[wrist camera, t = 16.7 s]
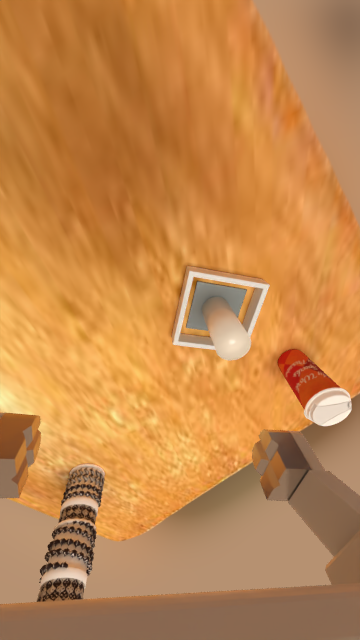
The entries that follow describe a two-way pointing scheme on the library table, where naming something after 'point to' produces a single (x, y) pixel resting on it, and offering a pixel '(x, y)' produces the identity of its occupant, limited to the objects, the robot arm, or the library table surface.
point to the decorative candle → (73, 537)
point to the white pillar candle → (225, 329)
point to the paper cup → (314, 389)
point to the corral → (213, 290)
